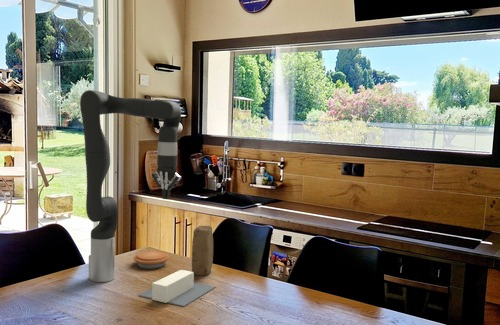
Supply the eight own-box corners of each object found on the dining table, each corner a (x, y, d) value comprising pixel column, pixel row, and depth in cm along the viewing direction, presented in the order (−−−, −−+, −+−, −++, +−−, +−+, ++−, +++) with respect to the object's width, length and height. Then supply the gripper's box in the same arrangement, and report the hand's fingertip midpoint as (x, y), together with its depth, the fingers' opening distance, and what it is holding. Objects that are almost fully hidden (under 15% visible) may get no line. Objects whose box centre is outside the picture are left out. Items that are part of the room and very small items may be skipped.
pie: (175, 265, 205) (175, 254, 205) (146, 272, 194) (146, 261, 193) (155, 257, 216) (156, 247, 215) (126, 264, 205) (126, 253, 204)
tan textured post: (206, 277, 191) (207, 230, 189) (189, 275, 192) (190, 228, 191) (214, 269, 201) (215, 224, 199) (198, 267, 203) (199, 223, 201)
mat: (138, 295, 168) (138, 294, 168) (173, 278, 188) (173, 277, 188) (184, 306, 159) (184, 305, 159) (215, 287, 179) (215, 286, 179)
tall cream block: (152, 283, 163) (180, 269, 180) (152, 299, 164) (180, 284, 180) (166, 286, 161) (193, 272, 177) (165, 302, 161) (193, 287, 177)
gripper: (187, 154, 174) (185, 199, 176) (159, 152, 180) (158, 195, 182) (176, 155, 168) (174, 202, 169) (147, 153, 173) (145, 198, 175)
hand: (165, 198), depth 175 cm, fingers closed
